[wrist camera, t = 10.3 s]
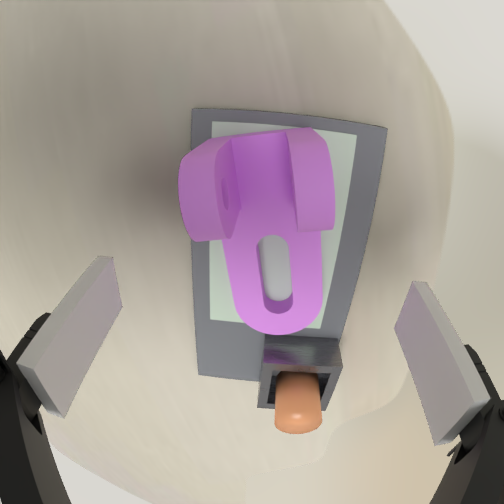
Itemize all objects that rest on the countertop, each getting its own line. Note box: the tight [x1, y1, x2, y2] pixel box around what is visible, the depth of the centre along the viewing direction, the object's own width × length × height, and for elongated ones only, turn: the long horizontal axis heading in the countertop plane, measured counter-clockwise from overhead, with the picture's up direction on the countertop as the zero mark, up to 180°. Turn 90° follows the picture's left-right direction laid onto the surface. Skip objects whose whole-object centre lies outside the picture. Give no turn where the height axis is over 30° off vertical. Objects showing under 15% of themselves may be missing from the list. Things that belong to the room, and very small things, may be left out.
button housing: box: [257, 333, 343, 411], centre depth 23 cm, size 6×6×3 cm
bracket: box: [178, 127, 335, 335], centre depth 16 cm, size 13×6×7 cm, turn 8°
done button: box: [275, 371, 322, 434], centre depth 21 cm, size 3×3×4 cm
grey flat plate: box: [191, 109, 388, 382], centre depth 21 cm, size 21×11×1 cm, turn 177°
